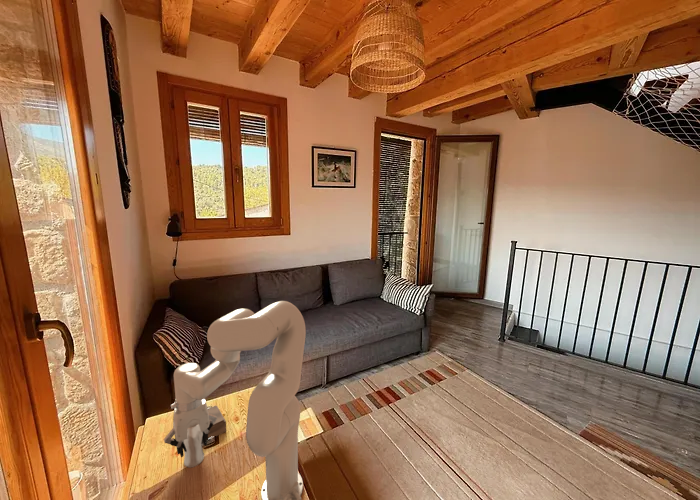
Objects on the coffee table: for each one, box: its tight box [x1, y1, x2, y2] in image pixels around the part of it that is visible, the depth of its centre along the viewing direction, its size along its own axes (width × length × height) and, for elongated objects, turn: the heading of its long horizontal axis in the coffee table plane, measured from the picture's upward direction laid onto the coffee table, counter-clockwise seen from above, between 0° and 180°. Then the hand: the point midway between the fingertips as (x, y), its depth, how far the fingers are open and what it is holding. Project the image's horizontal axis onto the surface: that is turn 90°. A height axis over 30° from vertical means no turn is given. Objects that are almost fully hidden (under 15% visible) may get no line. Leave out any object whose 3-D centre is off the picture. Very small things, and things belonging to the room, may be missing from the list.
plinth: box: [207, 405, 227, 438], centre depth 110 cm, size 11×11×5 cm
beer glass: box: [182, 424, 205, 468], centre depth 96 cm, size 7×7×15 cm
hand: (193, 447), depth 97 cm, fingers closed on beer glass, 6 cm apart
